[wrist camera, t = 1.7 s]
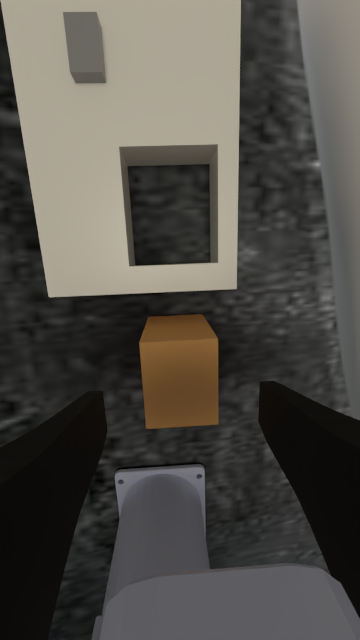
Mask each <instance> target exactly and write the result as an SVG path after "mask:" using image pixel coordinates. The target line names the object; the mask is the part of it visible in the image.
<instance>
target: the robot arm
mask: <svg viewBox="0 0 360 640" xmlns="http://www.w3.org/2000/svg"><path fill="white" fill-rule="evenodd" d="M258 421H259V424H260V426H261V429H262V431H263V434H264V436H265V439H266V441H267V443H268V445H269V447H270V448H271V450H272V452H273V454H274V456H275V458H276V459H277V461H278V463H279V465H280V466H281V468H282V470H283V472H284V474H285V475H286V477H287V479H288V481H289V482H290V484H291V486H292V488H293V490H294V492H295V494H296V495H297V497H298V499H299V501H300V504H301V506H302V508H303V510H304V513H305V515H306V517H307V519H308V522H309V524H310V526H311V528H312V531H313V533H314V535H315V538H316V540H317V543H318V545H319V547H320V550H321V552H322V554H323V557H324V559H325V562H326V564H327V567H328V569H329V572H330V574H331V576H330V575H329V574H328V573H326V572H325V571H324V570H322V569H320V568H318V567H316V566H311V565H302V564H294V563H282V564H270V565H258V566H246V567H234V568H222V569H210V566H209V559H208V551H207V544H206V520H205V471H204V466H203V465H201V464H194V465H179V466H164V467H150V468H135V469H121V470H118V471H116V473H115V484H116V492H117V500H118V509H119V517H120V520H119V526H118V531H117V536H116V542H115V547H114V552H113V558H112V563H111V568H110V574H109V579H108V584H107V590H106V595H105V600H104V606H103V611H102V616H97V617H96V621H95V625H94V630H93V635H92V640H360V420H357V419H354V418H352V417H349V416H346V415H344V414H342V413H339V412H337V411H335V410H332V409H330V408H328V407H326V406H323V405H321V404H319V403H317V402H315V401H313V400H311V399H309V398H307V397H305V396H303V395H301V394H299V393H297V392H295V391H293V390H291V389H289V388H288V387H286V386H284V385H282V384H279V383H277V382H275V381H264V382H260V395H259V419H258ZM106 434H107V423H106V415H105V407H104V399H103V391H89V392H87V393H85V394H84V395H82V396H81V397H80V398H78V399H77V400H75V401H74V402H73V403H71V404H70V405H68V406H67V407H66V408H64V409H63V410H61V411H60V412H59V413H57V414H56V415H54V416H53V417H51V418H50V419H48V420H47V421H45V422H44V423H42V424H41V425H39V426H38V427H36V428H34V429H33V430H31V431H30V432H28V433H26V434H24V435H23V436H21V437H19V438H17V439H16V440H14V441H12V442H10V443H8V444H6V445H4V446H2V447H0V640H48V636H49V631H50V627H51V623H52V619H53V614H54V610H55V606H56V602H57V598H58V593H59V589H60V585H61V581H62V577H63V573H64V569H65V565H66V561H67V557H68V554H69V550H70V546H71V542H72V539H73V535H74V531H75V528H76V524H77V521H78V517H79V514H80V511H81V508H82V505H83V502H84V499H85V497H86V494H87V492H88V489H89V486H90V484H91V481H92V478H93V476H94V473H95V470H96V468H97V465H98V462H99V460H100V457H101V454H102V451H103V447H104V443H105V439H106ZM198 474H201V475H198ZM120 480H123V481H120Z"/></svg>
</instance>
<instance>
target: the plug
mask: <svg viewBox="0 0 360 640" xmlns="http://www.w3.org/2000/svg"><path fill="white" fill-rule="evenodd" d="M139 346H140V358H141V370H142V383H143V395H144V408H145V420H146V429H154V428H170V427H186V426H202V425H217V424H218V338H217V336H216V335H215V333H214V332H213V330H212V328H211V327H210V325H209V324H208V322H207V321H206V319H205V317H204V316H203V314H195V315H174V316H153V317H148V320H147V322H146V325H145V328H144V331H143V334H142V336H141V339H140V342H139Z"/></svg>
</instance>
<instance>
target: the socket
mask: <svg viewBox="0 0 360 640" xmlns="http://www.w3.org/2000/svg"><path fill="white" fill-rule="evenodd" d="M1 6H2V12H3V18H4V24H5V31H6V37H7V43H8V49H9V55H10V61H11V68H12V74H13V80H14V86H15V92H16V98H17V105H18V111H19V117H20V123H21V129H22V135H23V141H24V148H25V154H26V160H27V166H28V172H29V178H30V185H31V191H32V197H33V203H34V209H35V215H36V222H37V228H38V234H39V240H40V246H41V252H42V258H43V265H44V271H45V277H46V283H47V289H48V295H49V297H67V296H90V295H112V294H135V293H158V292H181V291H203V290H226V289H237V229H238V161H239V92H240V23H241V0H1ZM195 164H209V167H210V263H188V264H163V265H138V266H135V255H134V242H133V230H132V217H131V204H130V191H129V179H128V166H157V165H195Z"/></svg>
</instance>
